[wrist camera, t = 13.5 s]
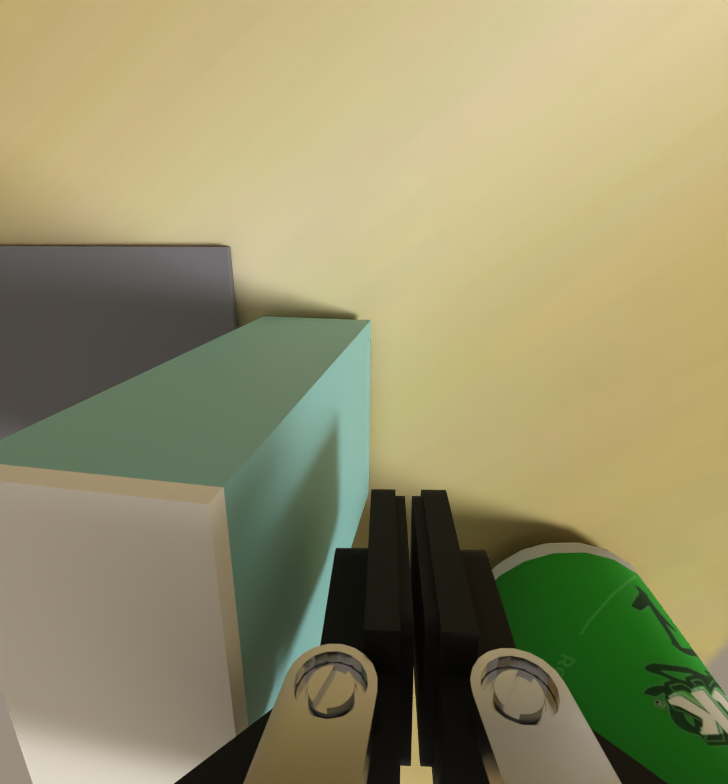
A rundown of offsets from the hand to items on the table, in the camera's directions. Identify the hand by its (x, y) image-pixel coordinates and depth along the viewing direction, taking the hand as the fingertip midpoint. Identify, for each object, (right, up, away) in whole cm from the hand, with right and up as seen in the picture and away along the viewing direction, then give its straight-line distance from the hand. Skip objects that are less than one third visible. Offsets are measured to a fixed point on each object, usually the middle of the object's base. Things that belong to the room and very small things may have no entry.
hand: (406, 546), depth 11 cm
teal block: (-3, +3, +8) cm, 9 cm away
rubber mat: (-12, +3, +8) cm, 15 cm away
